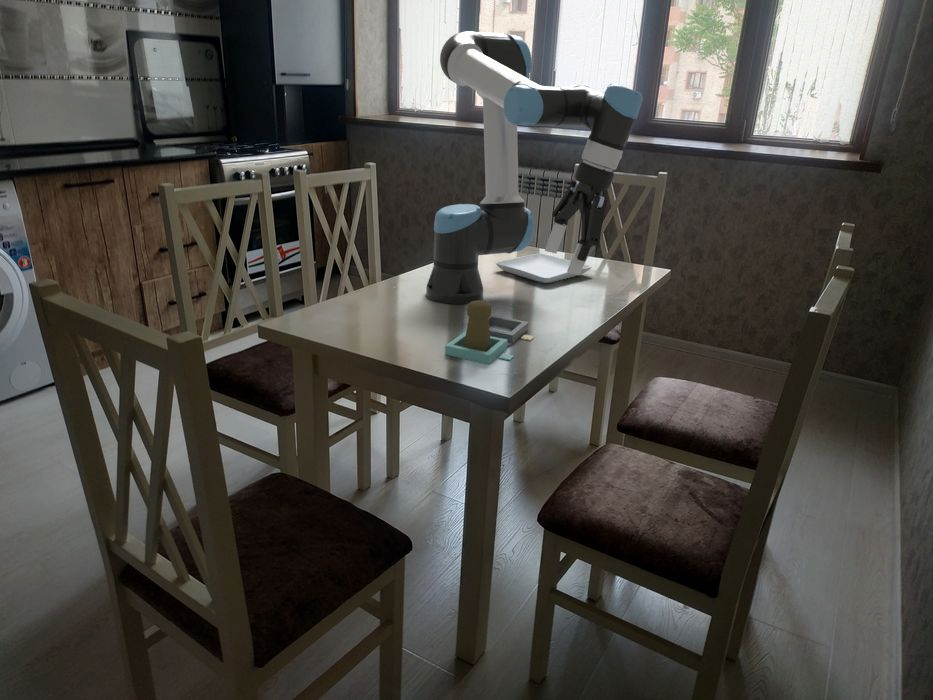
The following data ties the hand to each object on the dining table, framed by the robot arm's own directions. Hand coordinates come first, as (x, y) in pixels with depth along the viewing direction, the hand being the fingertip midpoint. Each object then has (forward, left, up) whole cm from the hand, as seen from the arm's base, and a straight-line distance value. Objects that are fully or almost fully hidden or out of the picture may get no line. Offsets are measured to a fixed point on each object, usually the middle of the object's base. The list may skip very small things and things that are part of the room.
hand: (561, 262), depth 143 cm
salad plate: (-20, +51, -18) cm, 57 cm away
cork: (-12, -16, -18) cm, 27 cm away
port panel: (-11, -9, -18) cm, 23 cm away
